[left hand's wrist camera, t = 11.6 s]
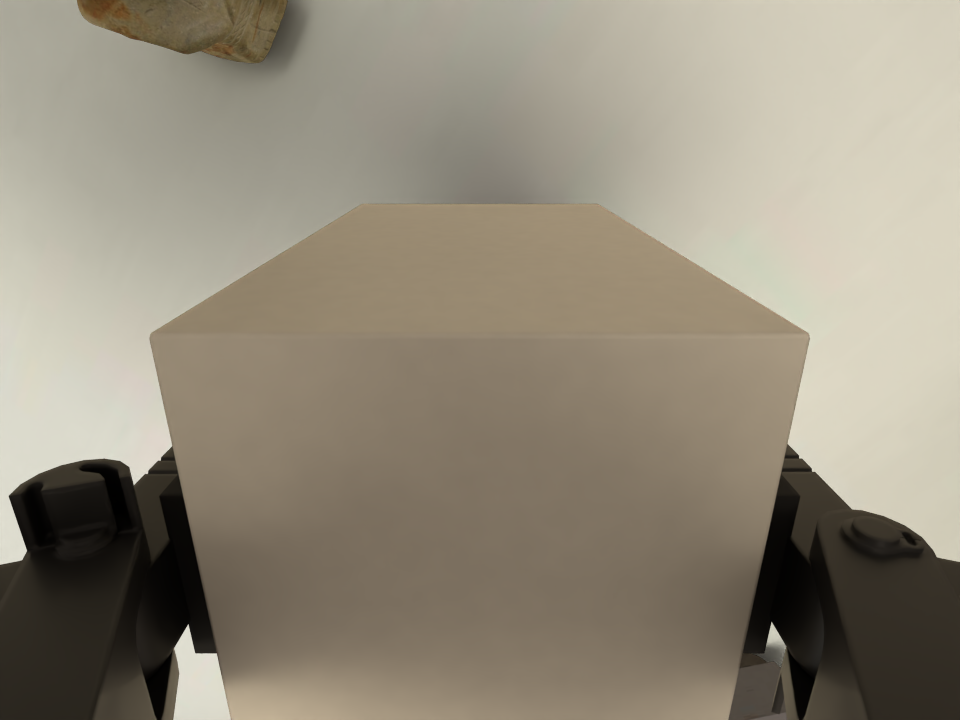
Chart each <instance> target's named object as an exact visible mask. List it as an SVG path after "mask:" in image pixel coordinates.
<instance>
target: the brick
mask: <svg viewBox="0 0 960 720" xmlns="http://www.w3.org/2000/svg"><path fill="white" fill-rule="evenodd" d="M809 340H810V337H809V334H808V333H807V332H806V331H804V330H802V329H801V328H799V327H797V326H796V325H794V324H793V323H791V322H789V321H788V320H786V319H784V318H783V317H781V316H780V315H778V314H776V313H775V312H773V311H771V310H770V309H768V308H766V307H765V306H763V305H762V304H760V303H758V302H757V301H755V300H753V299H752V298H750V297H749V296H747V295H745V294H744V293H742V292H740V291H739V290H737V289H736V288H734V287H732V286H731V285H729V284H727V283H726V282H724V281H723V280H721V279H719V278H718V277H716V276H714V275H713V274H711V273H709V272H708V271H706V270H705V269H703V268H701V267H700V266H698V265H696V264H695V263H693V262H692V261H690V260H688V259H687V258H685V257H683V256H682V255H680V254H679V253H677V252H675V251H674V250H672V249H670V248H669V247H667V246H665V245H664V244H662V243H661V242H659V241H657V240H656V239H654V238H652V237H651V236H649V235H648V234H646V233H644V232H643V231H641V230H639V229H638V228H636V227H635V226H633V225H631V224H630V223H628V222H626V221H625V220H623V219H621V218H620V217H618V216H617V215H615V214H613V213H612V212H610V211H608V210H607V209H605V208H604V207H602V206H600V205H599V204H361V205H359V206H358V207H356V208H355V209H353V210H351V211H350V212H348V213H346V214H345V215H343V216H341V217H340V218H338V219H337V220H335V221H333V222H332V223H330V224H328V225H327V226H325V227H323V228H322V229H320V230H319V231H317V232H315V233H314V234H312V235H310V236H309V237H307V238H306V239H304V240H302V241H301V242H299V243H297V244H296V245H294V246H292V247H291V248H289V249H288V250H286V251H284V252H283V253H281V254H279V255H278V256H276V257H275V258H273V259H271V260H270V261H268V262H266V263H265V264H263V265H261V266H260V267H258V268H257V269H255V270H253V271H252V272H250V273H248V274H247V275H245V276H244V277H242V278H240V279H239V280H237V281H235V282H234V283H232V284H230V285H229V286H227V287H226V288H224V289H222V290H221V291H219V292H217V293H216V294H214V295H213V296H211V297H209V298H208V299H206V300H204V301H203V302H201V303H199V304H198V305H196V306H195V307H193V308H191V309H190V310H188V311H186V312H185V313H183V314H181V315H180V316H178V317H177V318H175V319H173V320H172V321H170V322H168V323H167V324H165V325H164V326H162V327H160V328H159V329H157V330H155V331H154V332H152V333H151V334H150V343H151V348H152V352H153V357H154V362H155V366H156V371H157V376H158V381H159V385H160V390H161V395H162V399H163V404H164V409H165V413H166V418H167V423H168V427H169V432H170V437H171V441H172V446H173V451H174V455H175V460H176V465H177V469H178V474H179V479H180V483H181V488H182V493H183V497H184V502H185V507H186V511H187V516H188V521H189V525H190V530H191V535H192V539H193V544H194V549H195V553H196V558H197V563H198V567H199V572H200V577H201V581H202V586H203V591H204V595H205V600H206V605H207V609H208V614H209V619H210V623H211V628H212V633H213V637H214V642H215V647H216V651H217V656H218V661H219V665H220V670H221V675H222V679H223V684H224V689H225V693H226V698H227V703H228V707H229V712H230V717H231V720H728V719H729V714H730V710H731V705H732V700H733V695H734V691H735V686H736V681H737V677H738V672H739V667H740V663H741V658H742V653H743V649H744V644H745V639H746V635H747V630H748V625H749V621H750V616H751V611H752V607H753V602H754V597H755V593H756V588H757V583H758V579H759V574H760V569H761V564H762V560H763V555H764V550H765V546H766V541H767V536H768V532H769V527H770V522H771V518H772V513H773V508H774V504H775V499H776V494H777V490H778V485H779V480H780V476H781V471H782V466H783V462H784V457H785V452H786V447H787V443H788V438H789V433H790V429H791V424H792V419H793V415H794V410H795V405H796V401H797V396H798V391H799V387H800V382H801V377H802V373H803V368H804V363H805V359H806V354H807V349H808V345H809Z"/></svg>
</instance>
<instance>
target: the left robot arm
mask: <svg viewBox="0 0 960 720" xmlns="http://www.w3.org/2000/svg"><path fill="white" fill-rule="evenodd" d="M9 499H10V501H11V504H12V507H13V510H14V513H15V516H16V519H17V522H18V525H19V528H20V531H21V534H22V537H23V540H24V543H25V546H26V549H27V552H26V554H25V556H24V558H23V560H22V561H18V562H13V563H7V564H2V565H0V720H173V717H174V709H175V702H176V694H177V686H178V678H179V669H178V663H177V658H176V654H175V650H174V647H175V645H176V644H177V642H178V640H179V639H180V637H181V635H182V634H183V632H184V630H185V629H186V627H187V625H188V624H189V628H190V632H191V636H192V641H193V645H194V649H195V653H217V651H216V647H215V642H214V637H213V633H212V628H211V623H210V619H209V614H208V609H207V605H206V600H205V595H204V591H203V586H202V581H201V577H200V572H199V567H198V563H197V558H196V553H195V549H194V544H193V539H192V535H191V530H190V525H189V521H188V516H187V511H186V507H185V502H184V497H183V493H182V488H181V483H180V479H179V474H178V469H177V465H176V460H175V455H174V451H173V446H172V447H171V448H170V449H169V450H168V451H167V452H166V453H165V454H164V455H163V456H162V457H161V461H157V462H156V463H155V464H154V465H153V467H152V468H151V469H150V470H149V471H148V474H145V475H144V476H143V477H142V478H141V479H140V480H139V481H138V482H137V483H136V484H135V485H133V481H132V477H131V473H130V469H129V467H128V466H127V465H125V464H124V463H122V462H121V461H116V460H109V459H95V460H83V461H79V462H74V463H70V464H66V465H61V466H59V467H56V468H53V469H51V470H48V471H45V472H43V473H40V474H38V475H36V476H35V477H33V478H31V479H29V480H28V481H26V482H24V483H22V484H21V485H20V486H19V487H18V488H16V489H15V490H14V491H13V492H12V493H11V494H10V495H9ZM771 622H772V623H773V625H774V626H775V628H776V630H777V631H778V633H779V635H780V636H781V638H782V640H783V641H784V643H785V645H786V650H785V654H784V658H783V662H782V666H781V670H780V674H779V678H778V682H777V686H776V690H775V694H774V698H773V704H772V710H771V712H773V713H777V714H780V712H781V708H782V704H783V701H785V708H786V715H787V720H960V562H956V561H951V560H946V559H941V558H937V557H936V555H935V553H934V551H933V550H932V548H931V547H930V546H929V545H928V544H927V543H926V541H925V540H924V539H923V538H922V537H921V536H919V535H918V534H916V533H915V532H913V531H912V530H910V529H909V528H908V527H906V526H905V525H902V524H900V523H898V522H896V521H893V520H891V519H889V518H887V517H884V516H881V515H877V514H873V513H870V512H866V511H862V510H852V509H851V508H850V507H849V506H848V505H847V504H846V503H845V502H844V501H843V500H842V499H841V498H840V497H839V496H838V495H837V494H836V493H835V492H834V491H833V490H832V489H831V488H830V487H829V486H828V485H827V484H826V483H825V482H824V481H823V480H822V479H821V478H820V476H819V475H818V474H817V473H816V472H812V468H811V467H810V466H809V465H808V464H807V463H806V462H805V461H804V460H803V459H799V455H798V454H797V453H796V452H795V451H794V450H793V449H792V448H791V447H790V446H789V445H788V444H787V447H786V452H785V457H784V462H783V466H782V471H781V476H780V480H779V485H778V490H777V494H776V499H775V504H774V508H773V513H772V518H771V522H770V527H769V532H768V536H767V541H766V546H765V550H764V555H763V560H762V564H761V569H760V574H759V579H758V583H757V588H756V593H755V597H754V602H753V607H752V611H751V616H750V621H749V625H748V630H747V635H746V639H745V644H744V649H743V653H764V652H765V648H766V643H767V639H768V635H769V630H770V626H771Z"/></svg>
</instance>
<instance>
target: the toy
mask: <svg viewBox="0 0 960 720" xmlns="http://www.w3.org/2000/svg"><path fill="white" fill-rule="evenodd" d="M780 670H781V668H780V667H779V666H778V665H777V664H776V663H775V662H769V663H767V662H766V661H765V660H763V659H762V658H760V657H759V656H757V655H753V654H750V653H744V654H742V658H741V663H740V667H739V672H738V677H737V681H736V686H735V691H734V695H733V700H732V705H731V710H730V714H729V719H728V720H787V715H786V708H785V701H783V704H782V708H781V712H780V714H777V713H773V712H771V710H772V704H773V698H774V694H775V690H776V686H777V682H778V678H779V674H780Z"/></svg>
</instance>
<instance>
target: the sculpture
mask: <svg viewBox="0 0 960 720" xmlns="http://www.w3.org/2000/svg"><path fill="white" fill-rule="evenodd" d="M287 2H288V0H77V3H78V7H79V10H80V12H81V14H82V16H83V17H84V18H85V19H86V20H87V21H88V22H90V23H92V24H94V25H96V26H99V27H102V28H105V29H108V30H111V31H114V32H117V33H120V34H122V35H124V36H126V37H128V38H131V39H136V40H141V41H144V42H148V43H151V44H155V45H159V46H162V47H165V48H168V49H171V50H174V51H177V52H180V53H183V54H191V53H195V52H199V51H203V52H205V53H208V54H211V55H214V56H217V57H220V58H224V59H228V60H233V61H238V62H246V63H259V62H262V61H263V60H264V59H265V57H266V56H267V54H268V52H269V50H270V48H271V46H272V43H273V40H274V38H275V35H276V33H277V30H278V28H279V25H280V22H281V20H282V18H283V15H284V12H285V9H286V5H287Z"/></svg>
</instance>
